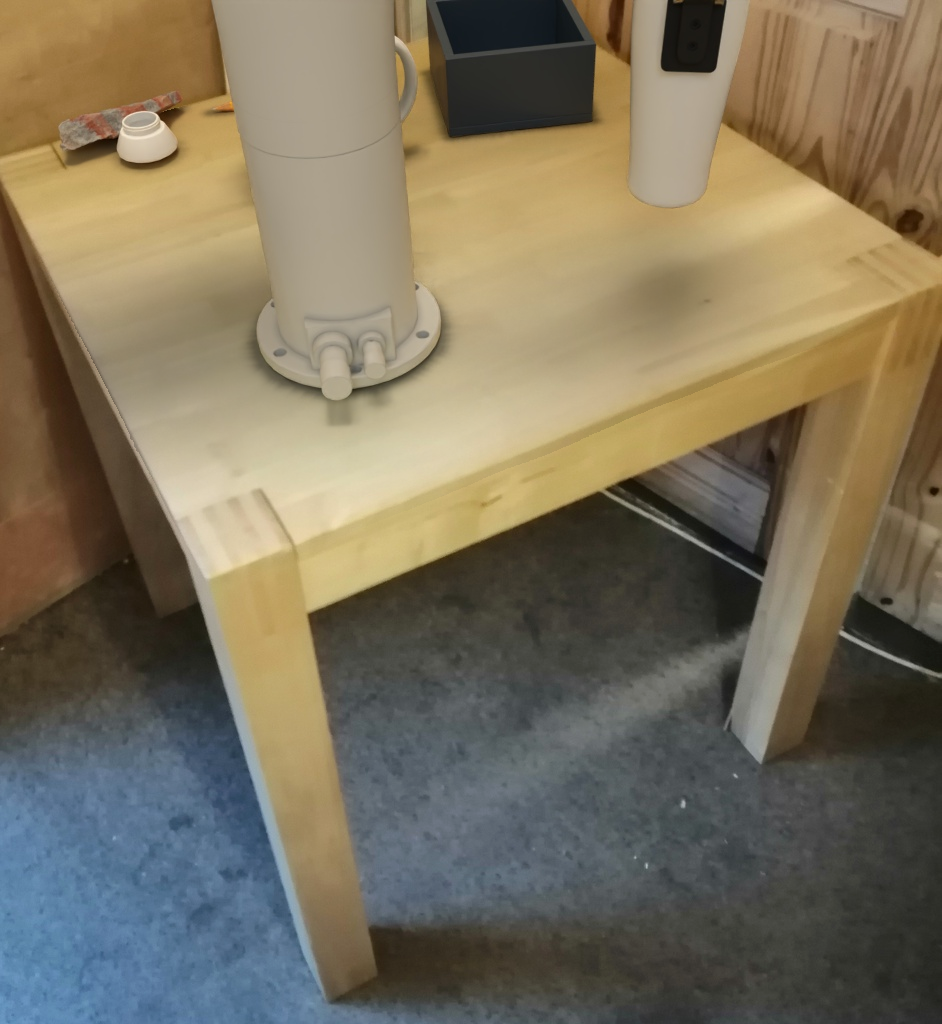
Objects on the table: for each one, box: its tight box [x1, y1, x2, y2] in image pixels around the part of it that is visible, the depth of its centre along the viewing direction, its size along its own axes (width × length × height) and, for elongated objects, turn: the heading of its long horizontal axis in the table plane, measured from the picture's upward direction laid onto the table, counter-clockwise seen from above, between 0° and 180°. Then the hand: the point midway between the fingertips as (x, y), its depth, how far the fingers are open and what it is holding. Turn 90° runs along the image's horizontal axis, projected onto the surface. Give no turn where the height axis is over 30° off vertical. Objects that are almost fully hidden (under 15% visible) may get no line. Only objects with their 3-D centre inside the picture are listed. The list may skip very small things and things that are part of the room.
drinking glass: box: [626, 0, 751, 209], centre depth 67 cm, size 7×7×15 cm
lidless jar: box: [116, 111, 179, 164], centre depth 91 cm, size 5×3×5 cm
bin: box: [425, 0, 597, 138], centre depth 95 cm, size 13×13×7 cm
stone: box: [57, 89, 184, 151], centre depth 94 cm, size 12×2×5 cm
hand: (685, 39), depth 65 cm, fingers closed on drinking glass, 6 cm apart
